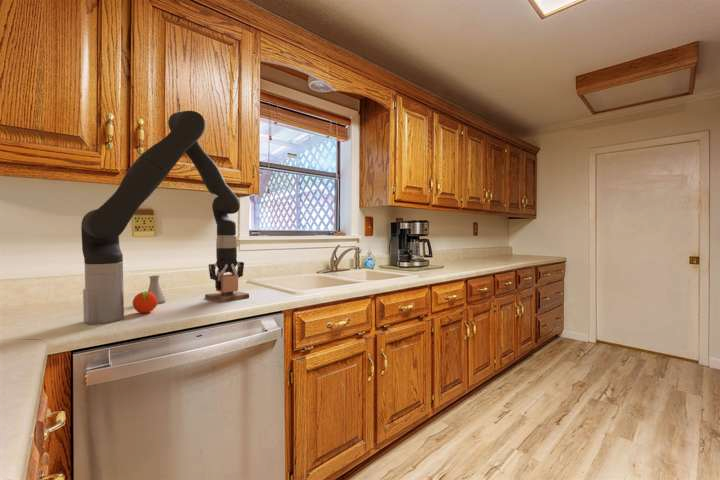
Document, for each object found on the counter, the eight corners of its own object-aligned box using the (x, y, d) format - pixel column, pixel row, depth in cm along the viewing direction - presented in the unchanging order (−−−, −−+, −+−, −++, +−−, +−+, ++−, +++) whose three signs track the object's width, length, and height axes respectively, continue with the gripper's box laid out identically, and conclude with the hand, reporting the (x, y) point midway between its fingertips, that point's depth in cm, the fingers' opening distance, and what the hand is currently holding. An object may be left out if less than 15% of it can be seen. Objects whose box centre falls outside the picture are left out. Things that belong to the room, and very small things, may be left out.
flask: (138, 304, 126) (138, 277, 125) (151, 300, 133) (151, 274, 133) (158, 305, 126) (157, 277, 125) (170, 300, 133) (169, 274, 132)
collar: (223, 292, 134) (223, 277, 134) (216, 290, 138) (215, 275, 138) (238, 290, 138) (237, 275, 138) (230, 288, 142) (230, 274, 142)
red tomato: (157, 314, 112) (157, 292, 111) (131, 317, 108) (131, 294, 108) (157, 309, 119) (157, 288, 118) (133, 311, 115) (133, 290, 115)
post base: (220, 302, 130) (220, 279, 129) (205, 298, 138) (204, 276, 137) (249, 297, 139) (248, 276, 139) (233, 293, 147) (233, 273, 146)
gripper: (213, 247, 130) (214, 292, 130) (248, 246, 141) (248, 287, 141) (204, 247, 135) (204, 290, 135) (238, 245, 145) (238, 285, 146)
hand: (227, 288), depth 138 cm, fingers open, 6 cm apart
